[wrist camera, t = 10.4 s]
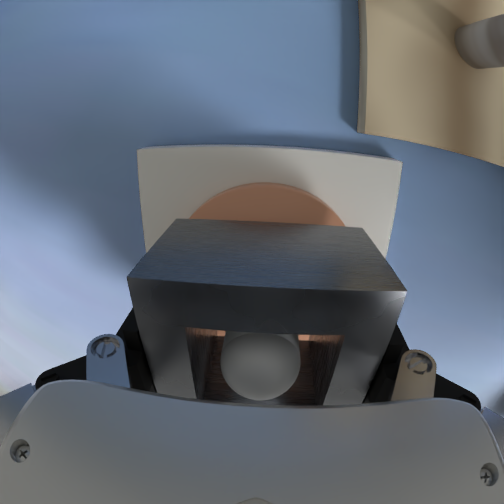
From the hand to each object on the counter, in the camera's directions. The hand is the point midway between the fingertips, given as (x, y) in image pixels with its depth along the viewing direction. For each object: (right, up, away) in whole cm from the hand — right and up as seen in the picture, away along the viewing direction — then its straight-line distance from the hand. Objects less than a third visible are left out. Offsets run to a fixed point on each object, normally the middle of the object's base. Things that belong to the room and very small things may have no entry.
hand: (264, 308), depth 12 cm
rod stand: (+10, +13, -2) cm, 17 cm away
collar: (0, 0, 0) cm, 0 cm away
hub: (0, +2, +4) cm, 4 cm away
